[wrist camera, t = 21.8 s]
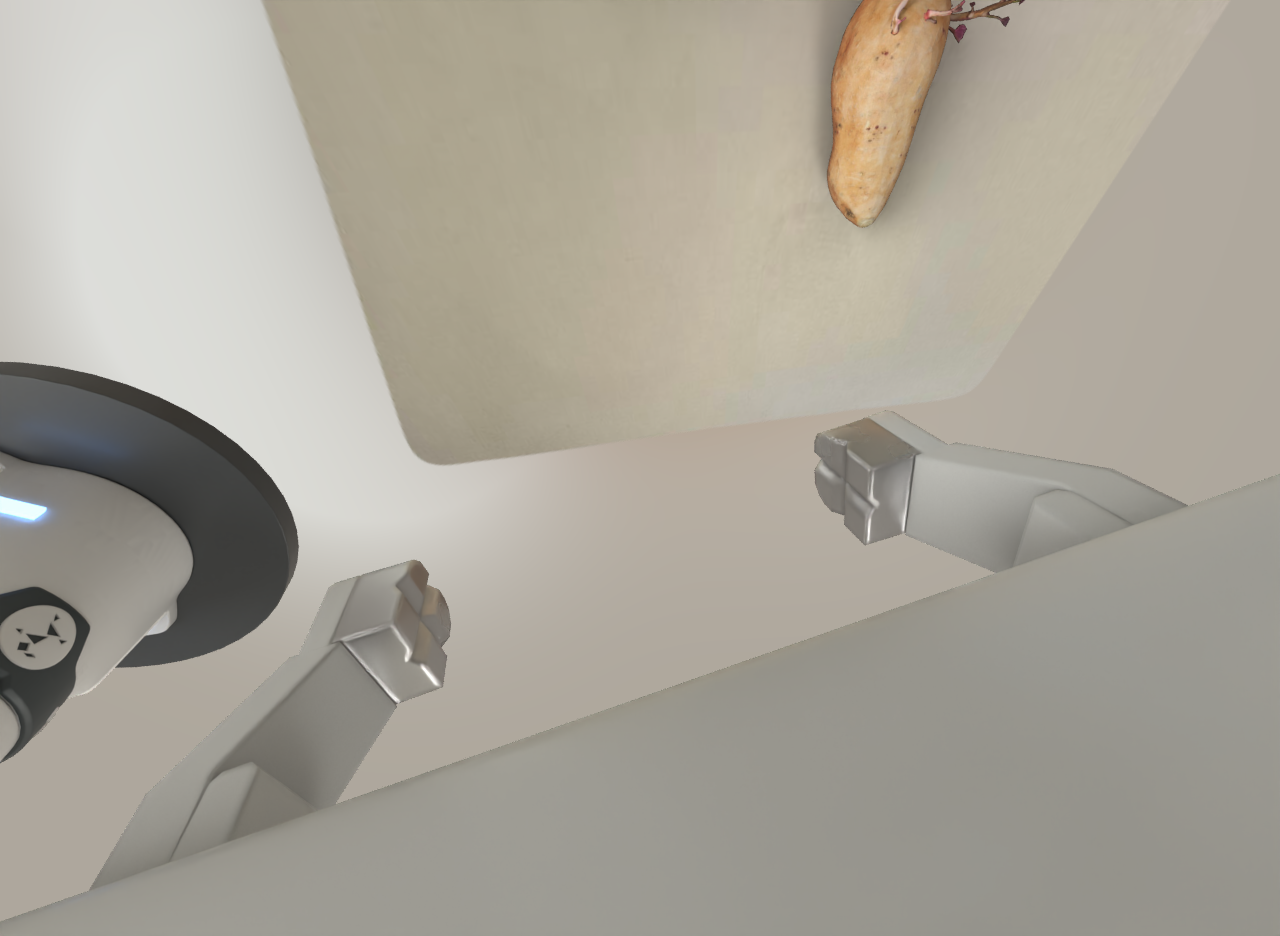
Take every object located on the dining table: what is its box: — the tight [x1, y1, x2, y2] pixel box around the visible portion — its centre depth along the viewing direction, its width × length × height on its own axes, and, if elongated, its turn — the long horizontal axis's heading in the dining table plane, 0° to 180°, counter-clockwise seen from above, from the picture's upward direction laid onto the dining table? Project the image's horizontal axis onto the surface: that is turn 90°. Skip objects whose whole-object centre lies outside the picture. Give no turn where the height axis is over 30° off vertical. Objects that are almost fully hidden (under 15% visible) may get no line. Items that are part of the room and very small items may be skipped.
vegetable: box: [827, 0, 1024, 228], centre depth 31 cm, size 16×11×10 cm
